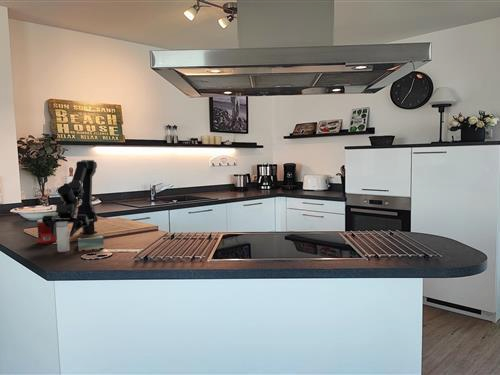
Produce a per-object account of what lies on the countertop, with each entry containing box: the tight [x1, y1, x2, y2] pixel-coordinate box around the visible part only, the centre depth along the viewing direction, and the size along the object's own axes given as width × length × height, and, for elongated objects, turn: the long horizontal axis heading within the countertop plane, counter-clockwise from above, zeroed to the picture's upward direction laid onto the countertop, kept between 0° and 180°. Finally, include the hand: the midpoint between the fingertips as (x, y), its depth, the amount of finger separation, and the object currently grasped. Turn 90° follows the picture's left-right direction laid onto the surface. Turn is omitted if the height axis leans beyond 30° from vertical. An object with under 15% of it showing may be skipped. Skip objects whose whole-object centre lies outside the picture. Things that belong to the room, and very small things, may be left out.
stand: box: [77, 235, 105, 252], centre depth 171 cm, size 11×10×5 cm
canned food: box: [36, 218, 57, 245], centre depth 181 cm, size 8×8×11 cm
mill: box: [56, 221, 71, 253], centre depth 165 cm, size 5×5×13 cm
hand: (61, 236), depth 164 cm, fingers open, 7 cm apart
